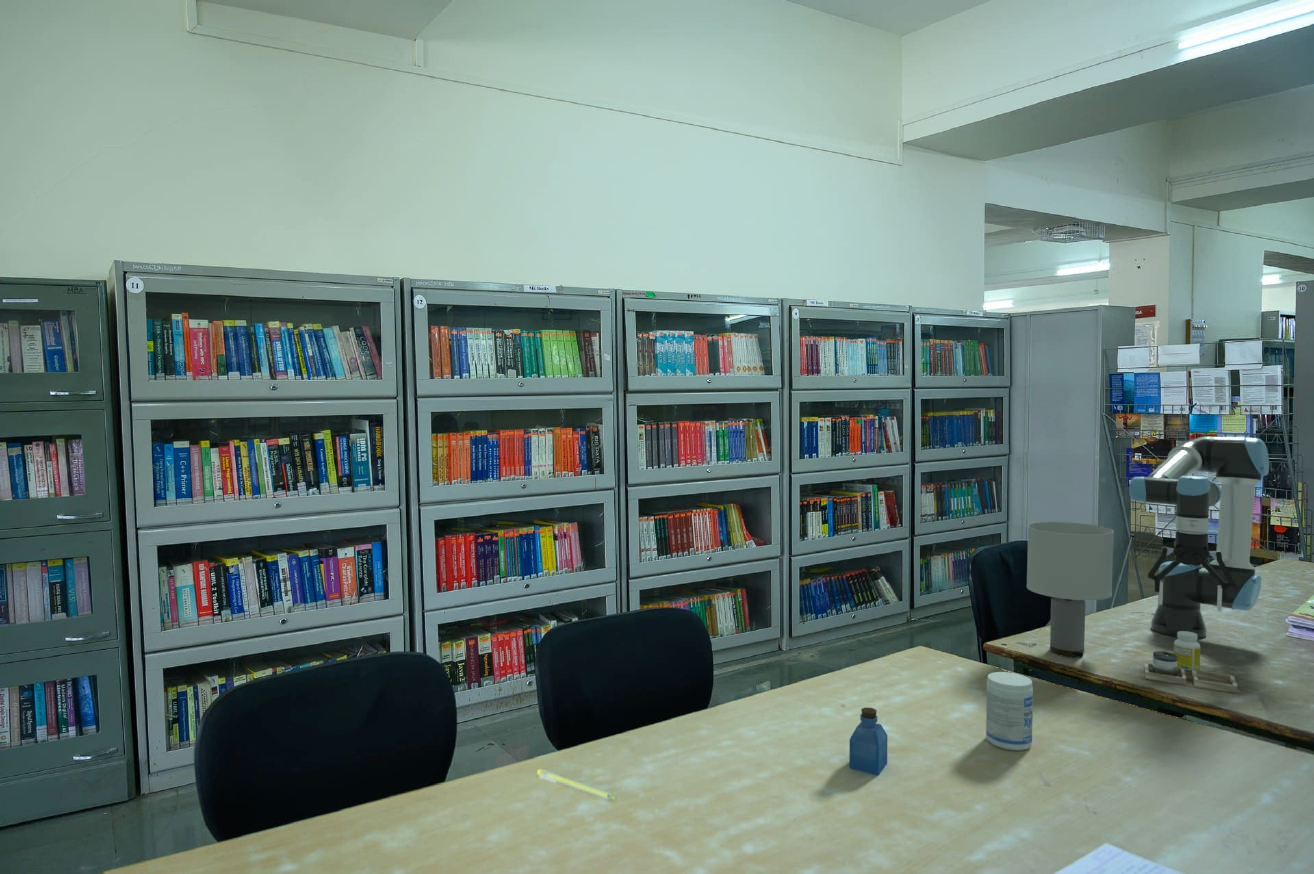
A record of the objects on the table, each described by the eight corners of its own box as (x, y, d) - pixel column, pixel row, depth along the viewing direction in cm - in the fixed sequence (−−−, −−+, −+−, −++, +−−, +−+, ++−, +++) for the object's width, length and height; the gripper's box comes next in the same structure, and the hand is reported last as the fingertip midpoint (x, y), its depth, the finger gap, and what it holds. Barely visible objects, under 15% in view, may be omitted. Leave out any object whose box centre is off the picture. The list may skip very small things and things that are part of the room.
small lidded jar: (1152, 671, 219) (1152, 650, 218) (1176, 674, 216) (1177, 653, 215) (1152, 677, 214) (1153, 655, 213) (1177, 681, 211) (1178, 659, 210)
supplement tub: (1035, 754, 171) (1036, 688, 170) (987, 749, 174) (989, 683, 173) (1028, 736, 180) (1029, 673, 179) (983, 731, 183) (984, 669, 182)
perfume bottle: (878, 775, 162) (879, 718, 161) (849, 768, 165) (849, 712, 165) (887, 763, 167) (887, 708, 167) (858, 756, 171) (859, 702, 170)
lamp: (1066, 637, 253) (1068, 520, 251) (1128, 660, 231) (1132, 532, 229) (1008, 645, 246) (1010, 524, 244) (1067, 669, 224) (1070, 536, 222)
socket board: (1140, 670, 222) (1140, 661, 222) (1236, 685, 211) (1237, 675, 211) (1141, 683, 213) (1141, 673, 213) (1241, 699, 201) (1242, 688, 201)
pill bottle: (1191, 668, 224) (1192, 630, 223) (1204, 676, 218) (1205, 637, 217) (1168, 667, 225) (1169, 629, 224) (1180, 675, 218) (1182, 636, 218)
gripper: (1139, 530, 222) (1137, 604, 223) (1249, 537, 209) (1246, 616, 210) (1139, 526, 229) (1137, 598, 230) (1245, 533, 216) (1242, 609, 217)
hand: (1189, 607), depth 220 cm, fingers open, 13 cm apart
